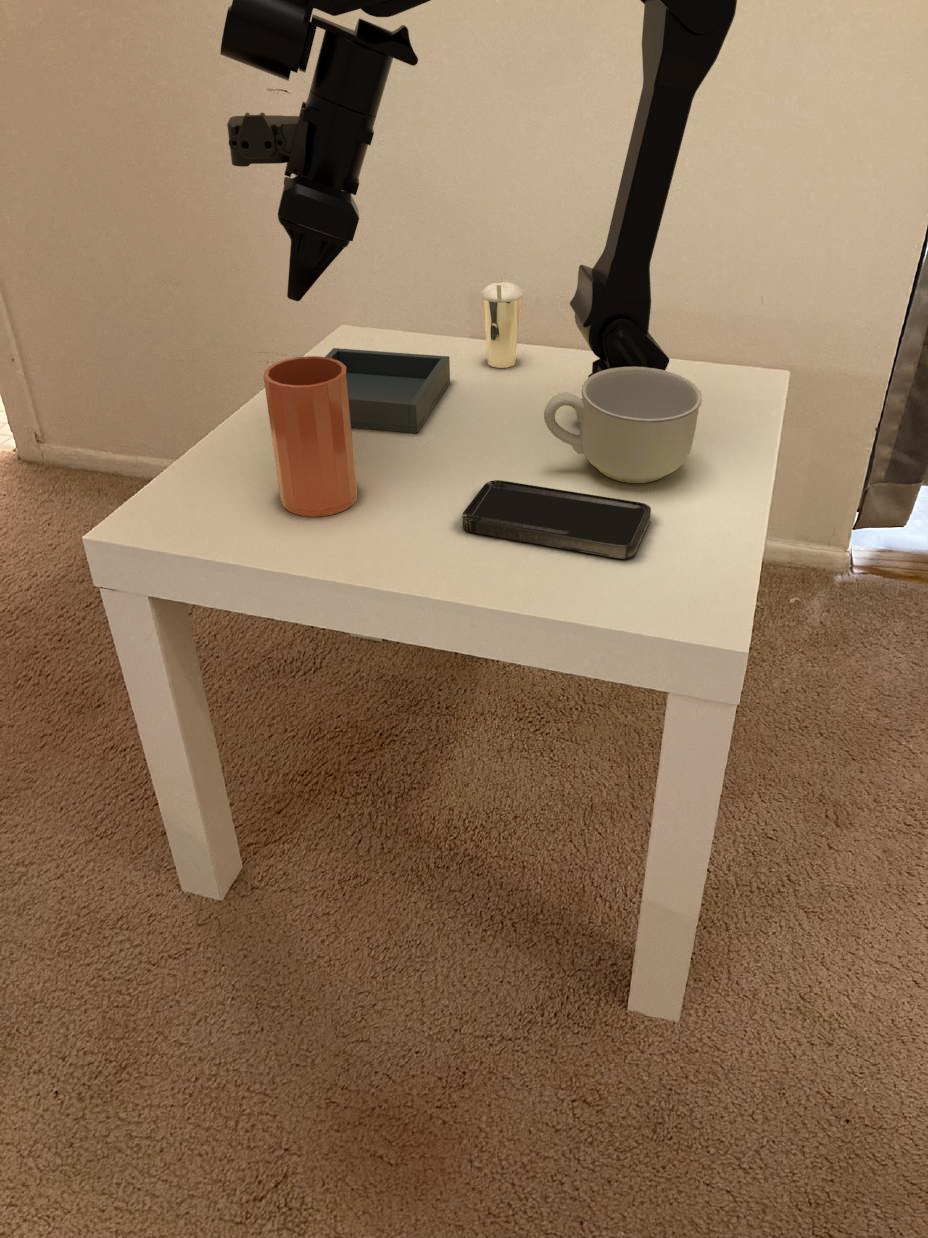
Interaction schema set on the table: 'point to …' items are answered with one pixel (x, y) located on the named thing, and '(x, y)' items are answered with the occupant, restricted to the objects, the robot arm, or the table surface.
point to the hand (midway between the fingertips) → (294, 283)
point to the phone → (558, 518)
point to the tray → (392, 387)
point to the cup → (312, 435)
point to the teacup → (631, 422)
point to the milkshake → (501, 322)
